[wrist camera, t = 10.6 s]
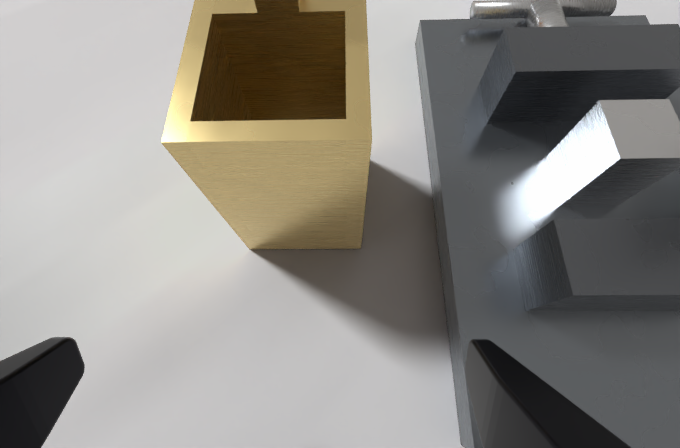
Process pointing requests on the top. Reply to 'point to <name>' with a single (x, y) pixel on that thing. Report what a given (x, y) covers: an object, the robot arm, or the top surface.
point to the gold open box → (277, 118)
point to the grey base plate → (560, 202)
